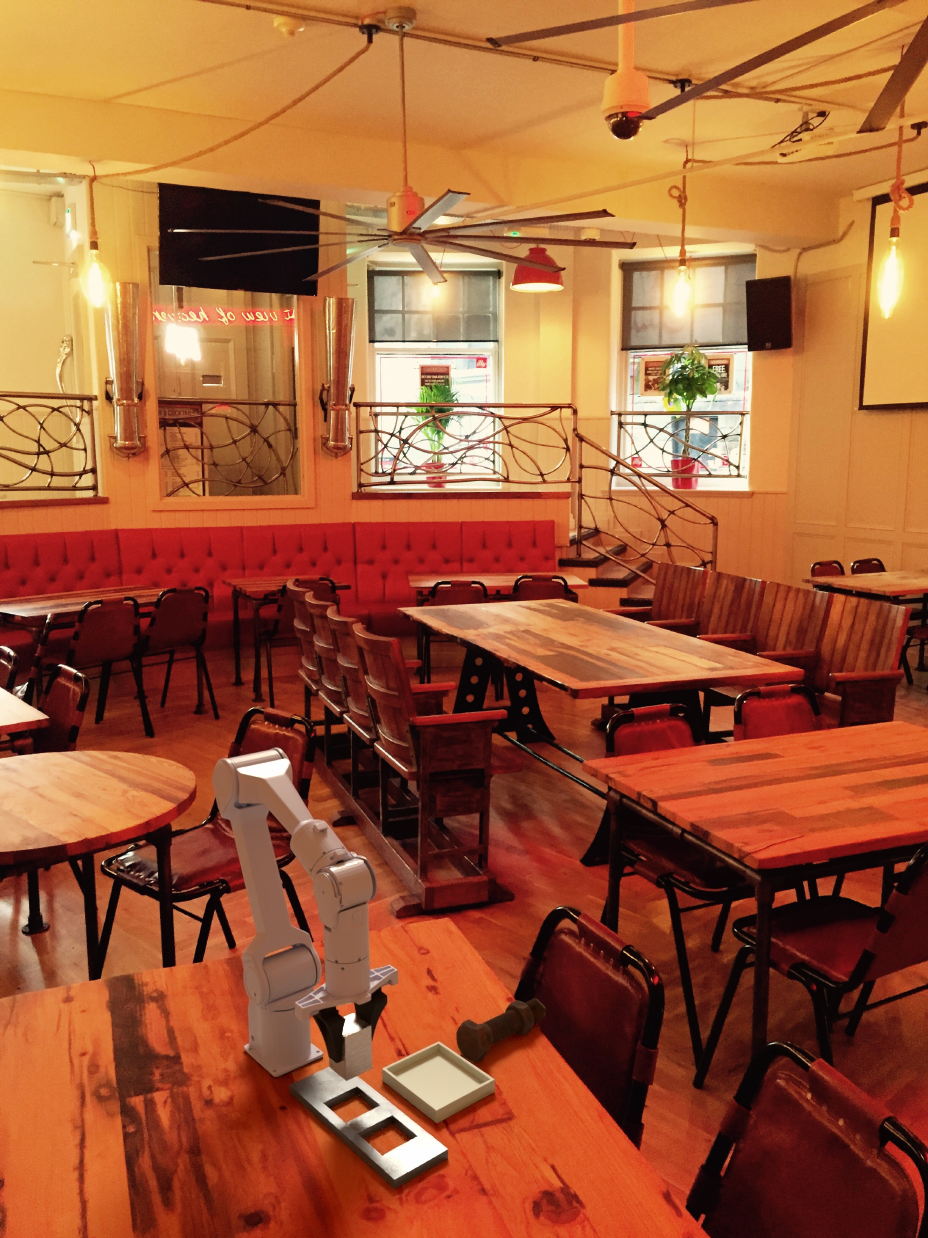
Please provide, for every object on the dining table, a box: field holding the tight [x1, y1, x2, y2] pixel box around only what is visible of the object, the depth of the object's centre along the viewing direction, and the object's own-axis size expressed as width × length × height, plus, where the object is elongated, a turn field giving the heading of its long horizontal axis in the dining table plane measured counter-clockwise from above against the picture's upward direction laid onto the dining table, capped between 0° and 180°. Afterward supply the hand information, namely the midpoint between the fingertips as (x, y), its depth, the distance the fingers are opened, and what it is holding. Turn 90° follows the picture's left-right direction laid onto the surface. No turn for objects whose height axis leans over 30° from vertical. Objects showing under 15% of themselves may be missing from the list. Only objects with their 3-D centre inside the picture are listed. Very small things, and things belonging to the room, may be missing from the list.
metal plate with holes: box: [289, 1066, 449, 1190], centre depth 125 cm, size 24×8×1 cm, turn 40°
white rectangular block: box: [328, 1012, 373, 1081], centre depth 126 cm, size 4×4×6 cm
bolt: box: [455, 998, 547, 1064], centre depth 144 cm, size 6×5×15 cm
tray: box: [381, 1041, 496, 1124], centre depth 133 cm, size 12×10×2 cm
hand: (349, 1052), depth 126 cm, fingers closed on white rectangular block, 4 cm apart
